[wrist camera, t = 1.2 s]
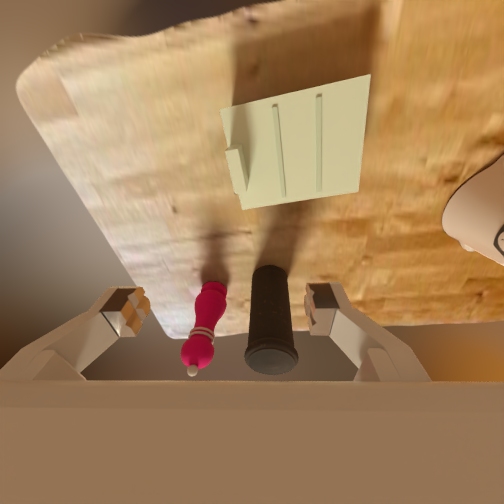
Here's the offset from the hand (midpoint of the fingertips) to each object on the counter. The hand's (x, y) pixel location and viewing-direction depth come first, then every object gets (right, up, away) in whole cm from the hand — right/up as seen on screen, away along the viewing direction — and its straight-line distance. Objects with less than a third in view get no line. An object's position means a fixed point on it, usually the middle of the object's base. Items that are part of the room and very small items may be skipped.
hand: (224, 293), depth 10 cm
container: (+5, -4, +38) cm, 39 cm away
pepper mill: (-8, -7, +41) cm, 43 cm away
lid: (+7, +15, +17) cm, 24 cm away
